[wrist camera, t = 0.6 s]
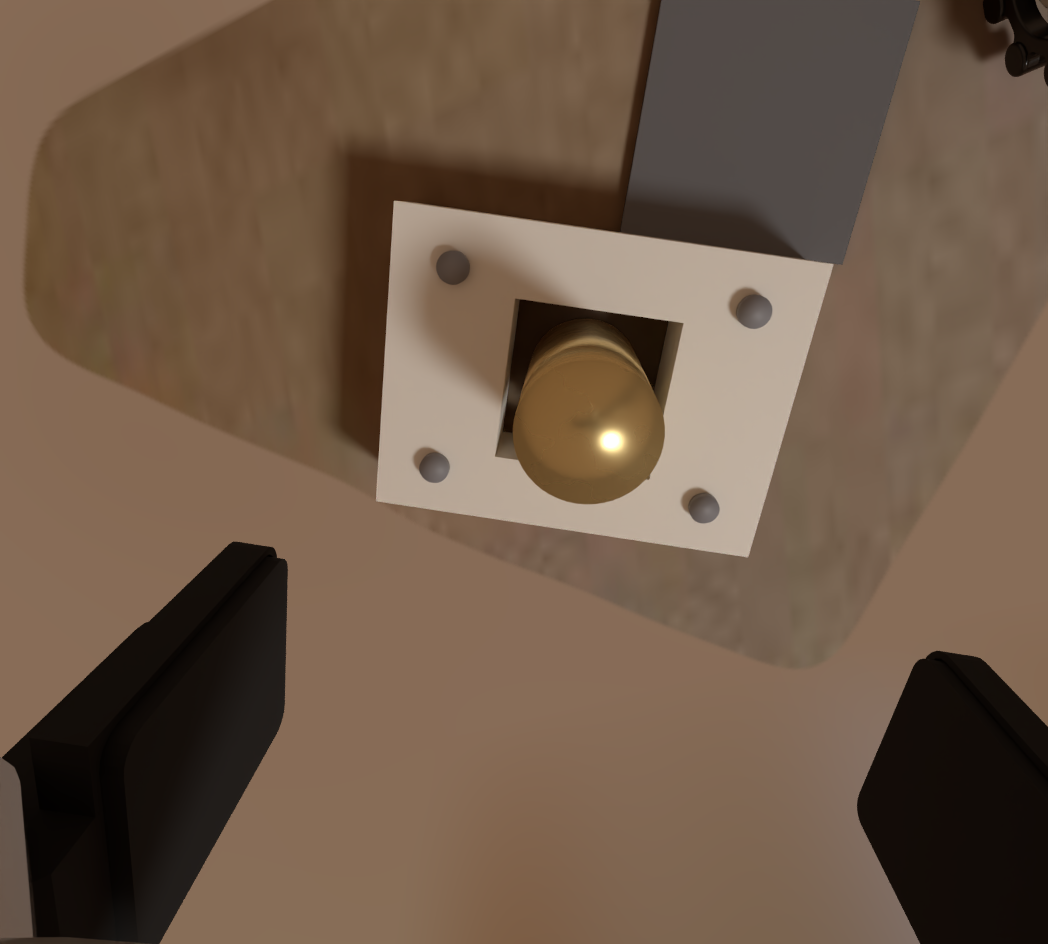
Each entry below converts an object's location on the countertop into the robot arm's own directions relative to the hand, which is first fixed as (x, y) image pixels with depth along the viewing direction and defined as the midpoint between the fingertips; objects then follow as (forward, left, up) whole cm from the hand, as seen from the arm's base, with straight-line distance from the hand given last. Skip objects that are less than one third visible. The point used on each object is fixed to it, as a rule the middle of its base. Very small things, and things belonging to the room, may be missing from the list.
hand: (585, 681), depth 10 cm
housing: (0, 0, -21) cm, 21 cm away
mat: (-5, -11, -21) cm, 24 cm away
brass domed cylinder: (0, 0, -21) cm, 21 cm away
